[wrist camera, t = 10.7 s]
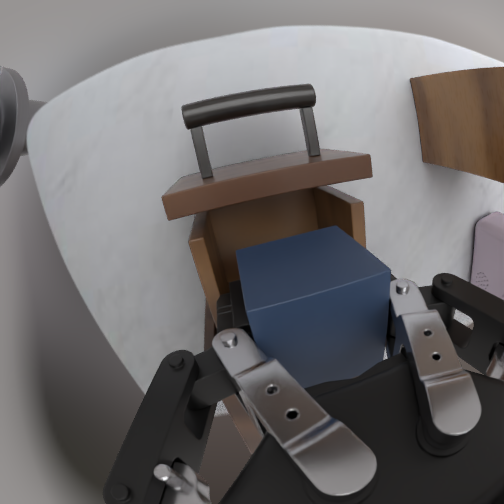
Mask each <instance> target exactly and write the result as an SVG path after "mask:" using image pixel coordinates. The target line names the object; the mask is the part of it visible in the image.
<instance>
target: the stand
mask: <svg viewBox="0 0 504 504" xmlns="http://www.w3.org/2000/svg"><path fill="white" fill-rule="evenodd" d="M410 81H411V86H412V90H413V95H414V100H415V105H416V111H417V117H418V124H419V131H420V138H421V147H422V157H423V162H425V163H430V164H434V165H439V166H443V167H448V168H452V169H456V170H460V171H464V172H468V173H471V174H475V175H478V176H482V177H485V178H489V179H492V180H495V181H498V182H501V183H504V67H493V68H479V69H468V70H459V71H452V72H444V73H438V74H432V75H426V76H421V77H415V78H411V79H410Z"/></svg>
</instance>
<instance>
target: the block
mask: <svg viewBox="0 0 504 504" xmlns="http://www.w3.org/2000/svg"><path fill="white" fill-rule="evenodd" d="M236 258H237V264H238V269H239V275H240V281H241V287H242V292H243V298H244V304H245V309H246V314H247V317H248V321H249V324H250V327H251V331H252V334H253V338H254V341H255V344H256V345H257V346H258V347H259V348H260V349H261V351H262V352H263V353H264V354H265V355H266V356H267V357H268V358H270V357H274V358H276V359H277V360H278V361H279V363H280V364H281V365H282V366H283V367H284V368H285V369H286V370H287V371H288V372H289V373H290V375H291V376H292V377H293V378H294V379H295V380H296V381H297V382H298V383H299V384H300V385H301V386H302V387H303V388H307V387H311V386H314V385H317V384H320V383H324V382H329V381H337V380H344V379H351V378H354V377H357V376H359V375H361V374H362V373H364V372H365V371H367V370H368V369H370V368H371V367H373V366H374V365H376V364H377V363H378V362H381V361H383V358H384V351H385V343H386V334H387V325H388V314H389V301H390V282H391V270H390V268H388V267H387V266H386V265H385V264H384V263H382V262H381V261H380V260H379V259H378V258H376V257H375V256H374V255H373V254H372V253H370V252H369V251H368V250H367V249H365V248H364V247H363V246H362V245H360V244H359V243H358V242H357V241H355V240H354V239H353V238H352V237H350V236H349V235H348V234H347V233H345V232H344V231H343V230H341V229H340V228H339V227H337V226H336V225H335V226H331V227H327V228H323V229H319V230H315V231H311V232H306V233H302V234H298V235H294V236H291V237H287V238H283V239H279V240H275V241H271V242H267V243H263V244H259V245H255V246H251V247H247V248H243V249H239V250H236Z"/></svg>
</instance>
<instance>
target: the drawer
mask: <svg viewBox="0 0 504 504" xmlns="http://www.w3.org/2000/svg"><path fill="white" fill-rule="evenodd" d="M315 103H316V95H315V91H314V88H313V87H312V85H311V84H300V85H289V86H280V87H272V88H265V89H258V90H252V91H246V92H240V93H235V94H229V95H224V96H220V97H215V98H210V99H206V100H202V101H198V102H194V103H190V104H186V105H183V106H182V115H183V120H184V123H185V126H186V128H187V129H188V130H189V129H191V134H192V139H193V143H194V147H195V152H196V156H197V160H198V164H199V169H200V172H199V173H195V174H191V175H188V176H184V177H181V178H180V179H179V180H178V181H177V182H176V183H175V184H174V185H173V186H172V187H171V188H170V189H169V190H168V191H167V192H166V193H165V194H164V195H163V196H162V197H161V198H162V201H163V205H164V208H165V212H166V215H167V219H168V220H169V221H170V220H174V219H177V218H181V217H185V216H189V215H193V214H196V215H195V219H194V222H193V226H192V230H191V233H190V237H189V241H188V243H189V246H190V249H191V253H192V256H193V259H194V262H195V265H196V269H197V272H198V275H199V278H200V281H201V284H202V287H203V290H204V293H205V296H206V299H207V302H208V305H209V308H210V311H211V314H212V317H213V319H214V322H215V325H216V328H217V304H216V302H217V300H218V298H219V297H220V295H222V294H226V293H230V289H229V282H232V281H236V280H240V275H239V269H238V264H237V258H236V250H239V249H243V248H247V247H251V246H255V245H259V244H263V243H267V242H271V241H275V240H279V239H283V238H287V237H291V236H294V235H298V234H302V233H306V232H311V231H315V230H319V229H323V228H327V227H331V226H335V225H336V226H337V227H339V228H340V229H341V230H343V231H344V232H345V233H347V234H348V235H349V236H350V237H352V238H353V239H354V240H355V241H357V242H358V243H359V244H360V245H362V246H363V247H364V248H365V249H366V237H365V217H364V203H363V201H361V200H358V199H356V198H354V197H352V196H350V195H348V194H345V193H343V192H341V191H339V190H336V189H334V188H332V187H330V186H327V185H330V184H336V183H342V182H347V181H353V180H359V179H365V178H371V177H373V175H372V166H371V157H370V154H363V153H356V152H348V151H339V150H330V149H320V148H319V142H318V136H317V131H316V125H315V120H314V115H313V110H312V107H314V106H315ZM300 108H301V109H300ZM292 109H300V115H301V120H302V125H303V130H304V136H305V141H306V147H307V150H306V151H300V152H294V153H288V154H282V155H277V156H272V157H266V158H261V159H256V160H251V161H246V162H242V163H237V164H233V165H228V166H224V167H220V168H215V169H212V168H211V164H210V159H209V155H208V151H207V146H206V142H205V138H204V133H203V129H202V127H201V126H205V125H209V124H213V123H218V122H222V121H227V120H232V119H236V118H242V117H247V116H252V115H258V114H264V113H270V112H277V111H284V110H292Z"/></svg>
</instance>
